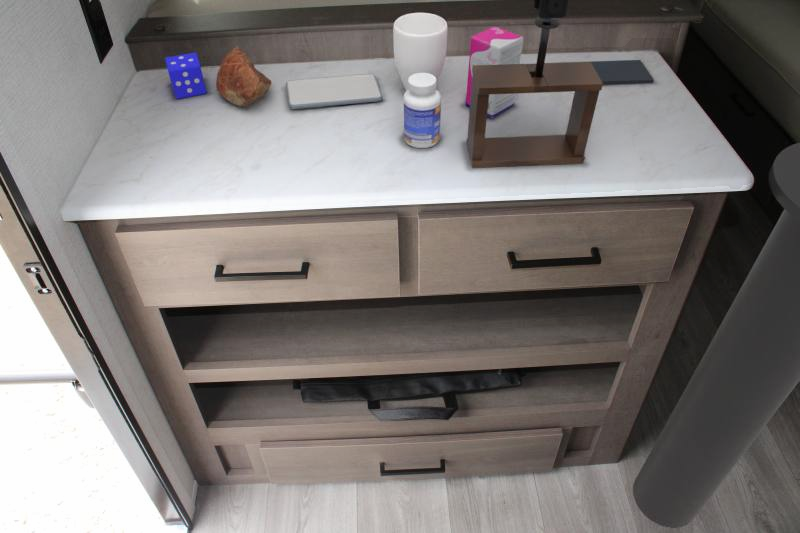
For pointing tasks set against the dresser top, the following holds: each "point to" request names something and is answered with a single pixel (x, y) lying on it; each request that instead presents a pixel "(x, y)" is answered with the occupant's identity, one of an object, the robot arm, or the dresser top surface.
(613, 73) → the mat
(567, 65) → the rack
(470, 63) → the supplement box
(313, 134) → the dresser top surface
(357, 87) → the smartphone
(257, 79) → the reddish-brown rock
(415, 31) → the mug
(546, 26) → the T-handle
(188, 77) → the die
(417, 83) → the pill bottle
